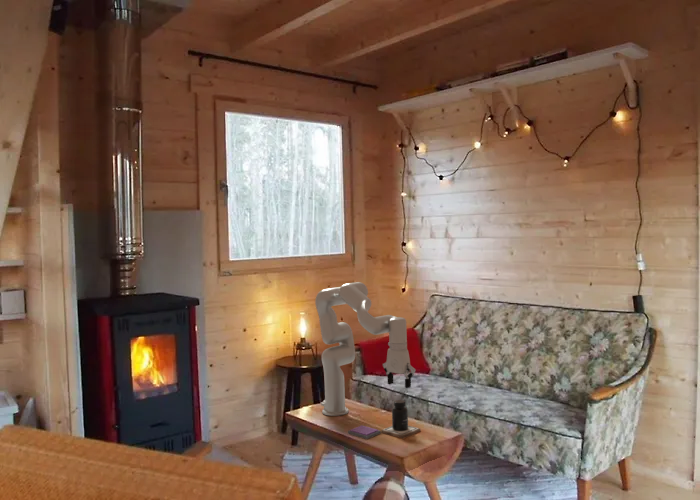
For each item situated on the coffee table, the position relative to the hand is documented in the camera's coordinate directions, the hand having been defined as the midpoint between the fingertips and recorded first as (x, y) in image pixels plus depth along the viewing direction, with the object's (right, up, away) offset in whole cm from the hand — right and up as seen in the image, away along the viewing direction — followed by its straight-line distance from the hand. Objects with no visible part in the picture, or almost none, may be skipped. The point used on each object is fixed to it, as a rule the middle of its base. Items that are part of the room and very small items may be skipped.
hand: (399, 385), depth 269 cm
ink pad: (-15, -21, 0) cm, 26 cm away
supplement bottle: (+1, -19, +1) cm, 19 cm away
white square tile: (+1, -20, +1) cm, 20 cm away
